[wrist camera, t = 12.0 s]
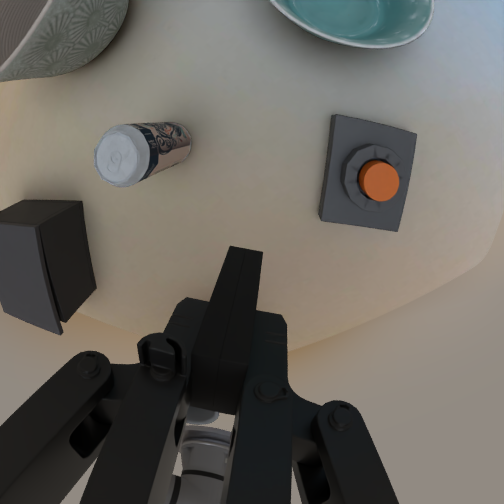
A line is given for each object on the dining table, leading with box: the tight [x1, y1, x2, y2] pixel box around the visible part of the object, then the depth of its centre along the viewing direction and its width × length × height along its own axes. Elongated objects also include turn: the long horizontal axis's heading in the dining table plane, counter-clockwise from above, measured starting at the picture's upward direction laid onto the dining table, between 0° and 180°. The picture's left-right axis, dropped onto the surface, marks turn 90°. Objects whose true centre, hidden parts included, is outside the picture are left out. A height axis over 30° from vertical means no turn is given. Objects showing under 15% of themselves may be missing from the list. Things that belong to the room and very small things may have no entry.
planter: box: [0, 0, 129, 82], centre depth 14 cm, size 17×17×15 cm
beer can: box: [94, 122, 191, 187], centre depth 23 cm, size 5×5×12 cm
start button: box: [359, 160, 399, 201], centre depth 24 cm, size 4×4×2 cm
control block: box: [318, 114, 417, 232], centre depth 26 cm, size 11×9×4 cm
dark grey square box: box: [0, 200, 96, 323], centre depth 31 cm, size 14×14×9 cm
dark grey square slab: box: [0, 222, 63, 335], centre depth 26 cm, size 14×14×1 cm
